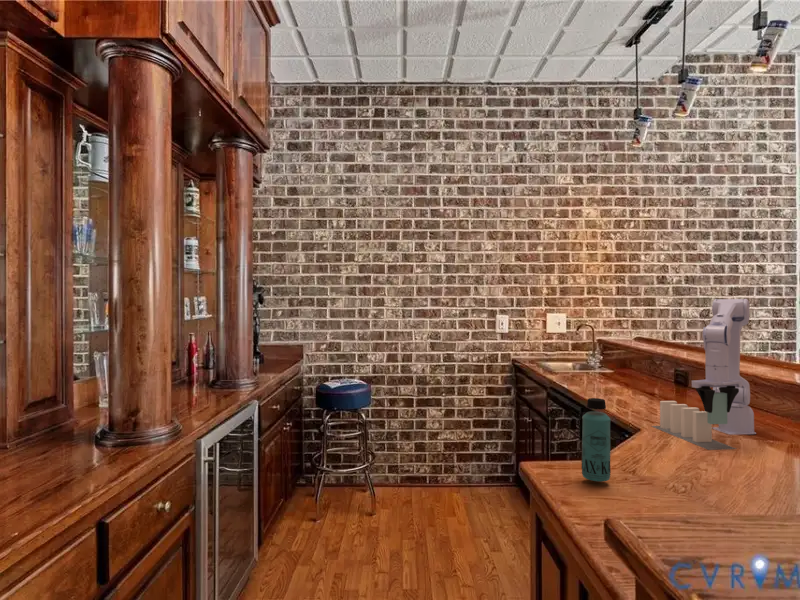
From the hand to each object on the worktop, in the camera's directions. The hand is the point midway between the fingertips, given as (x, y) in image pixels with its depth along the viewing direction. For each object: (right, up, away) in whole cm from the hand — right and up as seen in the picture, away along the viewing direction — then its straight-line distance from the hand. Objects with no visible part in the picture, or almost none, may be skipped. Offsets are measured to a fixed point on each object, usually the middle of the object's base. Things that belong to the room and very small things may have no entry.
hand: (717, 411), depth 146 cm
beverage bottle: (-47, -11, -29) cm, 57 cm away
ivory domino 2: (-2, -10, +16) cm, 19 cm away
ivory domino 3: (-1, -10, +11) cm, 15 cm away
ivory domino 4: (-1, -10, +5) cm, 12 cm away
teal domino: (0, -3, 0) cm, 3 cm away
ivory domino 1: (-2, -10, +22) cm, 24 cm away
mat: (-1, -11, +11) cm, 15 cm away
